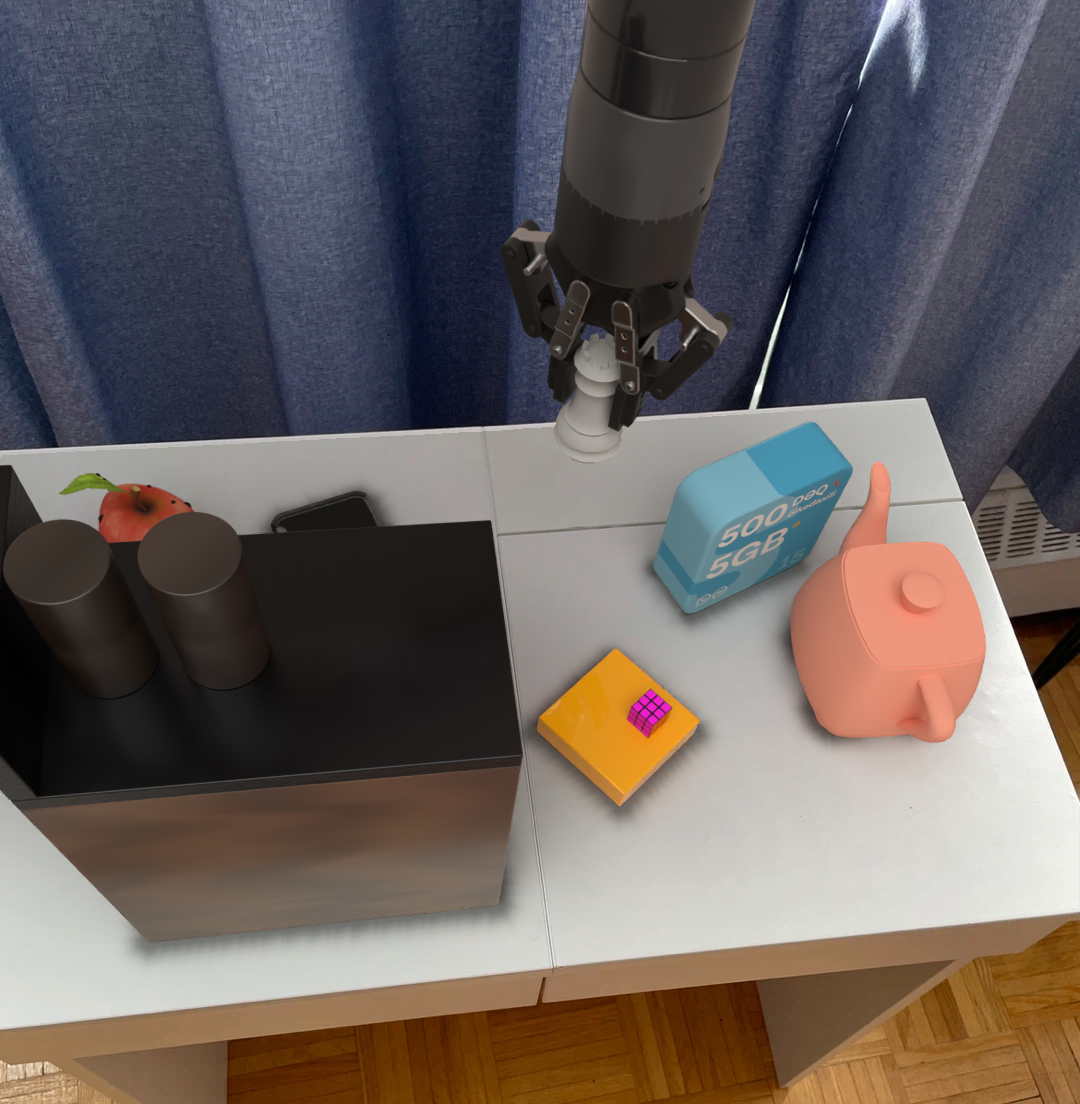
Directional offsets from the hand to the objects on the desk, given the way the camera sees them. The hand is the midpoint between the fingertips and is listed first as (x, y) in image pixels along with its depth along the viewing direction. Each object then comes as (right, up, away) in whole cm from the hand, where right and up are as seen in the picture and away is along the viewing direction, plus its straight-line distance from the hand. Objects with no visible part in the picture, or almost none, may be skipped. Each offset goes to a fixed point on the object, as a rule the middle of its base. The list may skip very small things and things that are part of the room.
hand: (593, 406), depth 68 cm
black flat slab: (-16, -17, -16) cm, 28 cm away
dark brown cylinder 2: (-18, -16, -18) cm, 30 cm away
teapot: (+20, -16, +13) cm, 29 cm away
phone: (-17, -10, +12) cm, 23 cm away
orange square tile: (+2, -20, +9) cm, 23 cm away
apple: (-31, -8, +12) cm, 35 cm away
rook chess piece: (0, -1, +3) cm, 3 cm away
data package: (+11, -8, +16) cm, 21 cm away
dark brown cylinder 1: (-23, -17, -18) cm, 34 cm away
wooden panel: (-18, -27, +4) cm, 32 cm away
